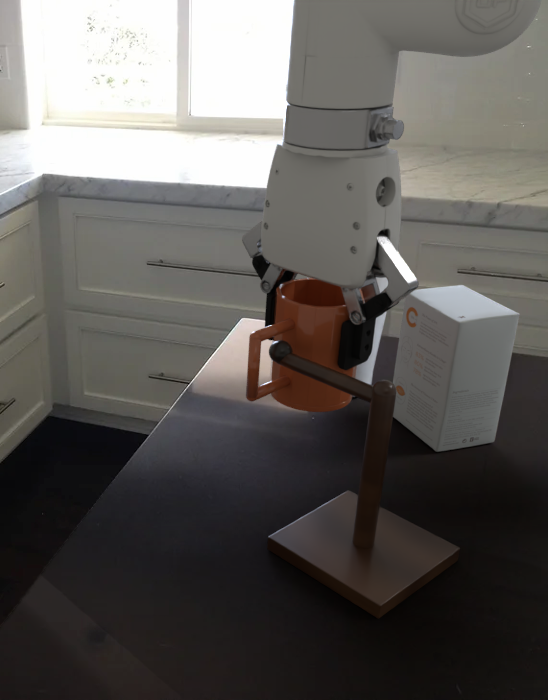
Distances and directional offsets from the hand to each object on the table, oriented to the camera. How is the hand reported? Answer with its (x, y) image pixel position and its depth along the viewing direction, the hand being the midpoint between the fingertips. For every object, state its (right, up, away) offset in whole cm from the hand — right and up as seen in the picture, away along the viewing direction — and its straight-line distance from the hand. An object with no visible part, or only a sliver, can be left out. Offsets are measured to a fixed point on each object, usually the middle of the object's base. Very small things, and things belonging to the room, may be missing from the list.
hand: (314, 347), depth 71 cm
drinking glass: (+9, -4, +20) cm, 23 cm away
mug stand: (+1, -15, -3) cm, 15 cm away
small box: (+15, -8, +13) cm, 21 cm away
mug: (-2, -4, +1) cm, 5 cm away
